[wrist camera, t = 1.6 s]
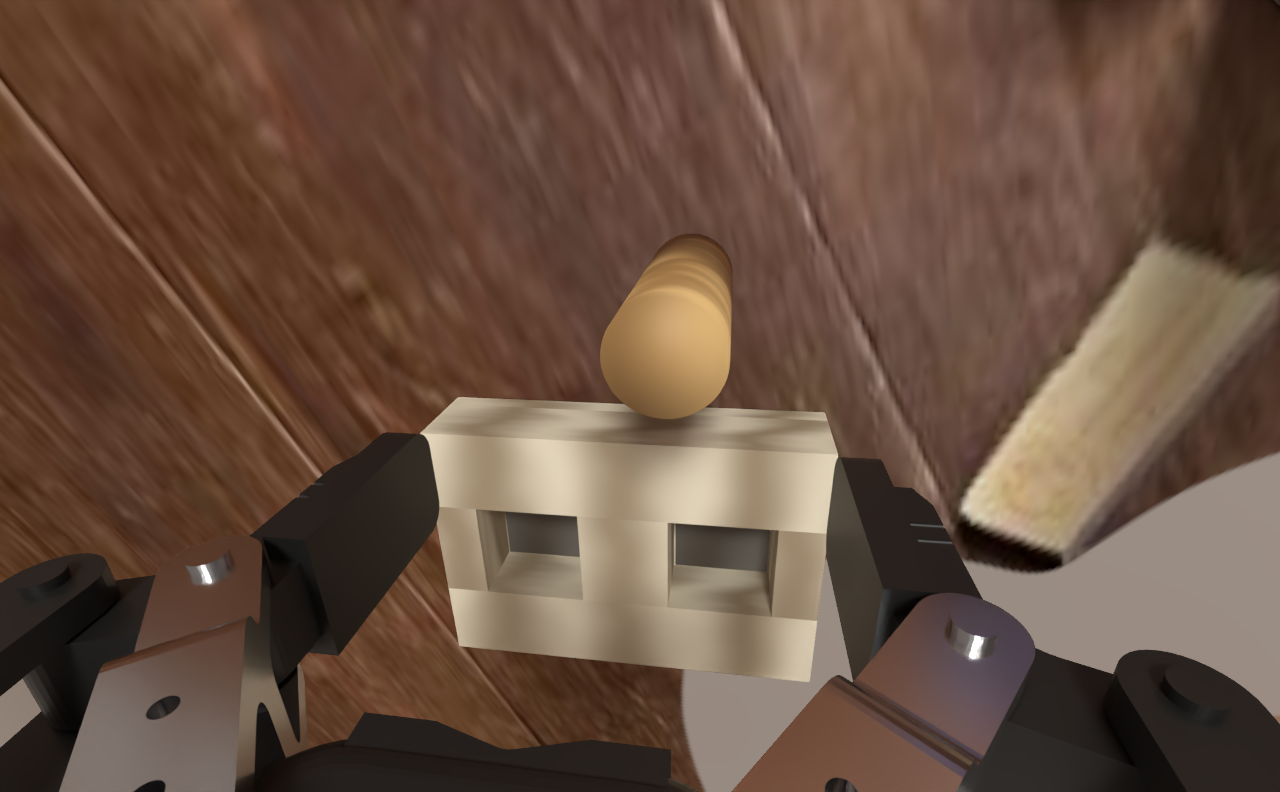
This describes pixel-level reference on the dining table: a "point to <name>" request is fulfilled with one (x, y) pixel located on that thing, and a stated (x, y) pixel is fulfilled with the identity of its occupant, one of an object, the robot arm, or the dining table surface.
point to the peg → (673, 331)
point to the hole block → (635, 532)
